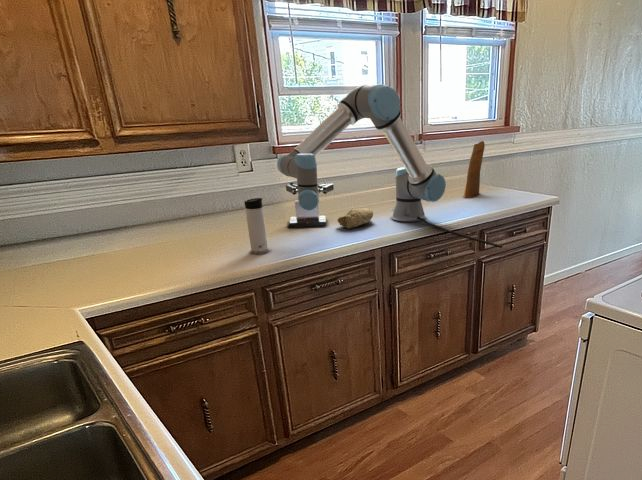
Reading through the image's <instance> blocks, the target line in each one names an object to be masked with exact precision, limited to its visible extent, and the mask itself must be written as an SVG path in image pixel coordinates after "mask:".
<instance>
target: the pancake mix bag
mask: <svg viewBox="0 0 642 480" xmlns="http://www.w3.org/2000/svg"><path fill="white" fill-rule="evenodd" d="M485 145H486V144H485V142H484V140H482V141H479V142H478V143H475V144H473V147H472V152H471V155H470V158H469V161H468V163H469V164H468V168H467V175H466V183H465V187H464V191H463V198H465V199H472V198H474V197H476V196H479V195H480V188H481V187H480V186H481V185H480V184H481V170H482V169H481V168H482V164H483V157H484V152H485Z"/></svg>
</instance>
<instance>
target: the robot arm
mask: <svg viewBox="0 0 642 480" xmlns="http://www.w3.org/2000/svg"><path fill="white" fill-rule="evenodd" d="M401 116H402V110H401V97H400V95H399V94H398V92H397V91H396V90H395V88H393V87H391V86H389V85H385V84H362V85H359V86H357V87H355V88H354V89H353V90H351V91H350V92H348V94H347V95H345V96H344V97H343V98H342V99H340V101H339V102H338V103H337V105H336V109H335V110H334V111H332V112H331V113H330V114H329V116H327V117H326V118H325V119H324V120H323V121H322V122H321V123H320V124H318V125H317V126H316V127H315V129H314V130H313V131H311V132H310V133H309V135H307V136H306V137H305V138H304V139H303V140H302V141H301V142H299V144H298V145H297V146H296V147H294V148H293V149H292V150H291V151H290V152H289V153H288V154H282V155H281V156H279V157H278V159H277V161H276V168H277V170H278V171H279V172H280V173H281V174H282V175H283V176H286V177H289V178H293V179H296V180H293V182H292V181H290V182H289V183H286V184H285V190H286V192H288V193H291V194H292V195H293V196H294V195H298V196H297V200H298V202H299V205H300V206H301V207H302V208H303V209H305V210H313V209H315V208H316V207H317V205H318V206H319V203H320V197H319V196H320V193H322V194H324V195H327V194H328V193H330V192H332V191H335V187H334V183H329V182H327V180H324V183H323V184H318V183H319V182H318V164H317V159H316V157H318V155H319V154H321V152H323V151H324V150H325V149H326V148H327V147H328V146H329V145H330V144H331V143H332V142H333V141H334V140H335V139H336V138H338V136H340V135H341V134H342V133H343V132H344V131H345V130H346V129H348V127H349V126H350V125H351V126H352V125H355V124H356V123H357V122H358V121H360V120H363V119H369V120H370V121H371V122H372V124H373V125H374V127H375V129H376V130H378V131H382V133H383V135H384V136H385V138H386V140H387V141H388V143H389V145H390V146H391V148H392V149H393V151H394V152H395V154H396V156H397V157H398V159H399V160H400V162H401V164H402V165H403V167H398V168H397V169H396V171H395V197H396V198H395V205H394V208H393V207H391V211H392V216H391V217H392V218H391V219H392V220H394V221H395V222H401V223H415V222H423V223H424V224H426V225H428V226H430V227H433V228H436V229H439V230H442V231H443V232H446V233H448V234H451V235H455V236H458V237H461V238H464V239H467V240H471V241H475V242H478V243H481V244H486V245H488V246H489V245H490V246H492V247H496V248H500V249H502V248H503V245H501V244H497V243H494V242H490V241H487V240H483V239H480V238H477V237H472V236H469V235H465V234H463V233H458V232H455V231H452V230H450V229H448V228H445V227H443V226H440V225H437V224H435V223H431V222H430V221H429V222H428V221H427V220H425V218H426V217H425V211H424V207H423V204H422V201H425V202H429V203H430V202H431V203H435V202H438V201H439V200H440V199H441V198H442V197H443V196H444V194H445V192H446V188H447V187H446V186H447V183H446V179H445V177H444V176H443V175H441V173H437V172H436V170H435V169H434V167H433V165H432V164H431V163H427V162H426V160H425V159H424V157H423V155H422V154H421V152H420V149H419V148H418V146H417V144H416V143H415V141H414V139H413V137H412V136H411V134H410V132H409V130H408V129H407V127H406V125H405V123H404V122H403V120H402V118H401Z"/></svg>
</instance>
